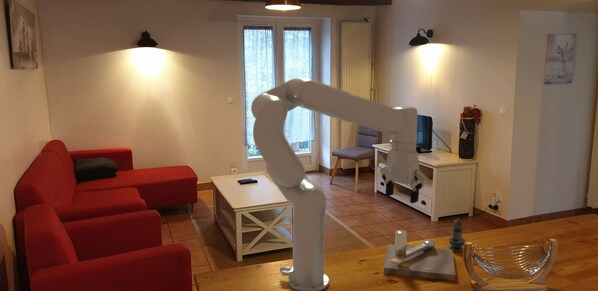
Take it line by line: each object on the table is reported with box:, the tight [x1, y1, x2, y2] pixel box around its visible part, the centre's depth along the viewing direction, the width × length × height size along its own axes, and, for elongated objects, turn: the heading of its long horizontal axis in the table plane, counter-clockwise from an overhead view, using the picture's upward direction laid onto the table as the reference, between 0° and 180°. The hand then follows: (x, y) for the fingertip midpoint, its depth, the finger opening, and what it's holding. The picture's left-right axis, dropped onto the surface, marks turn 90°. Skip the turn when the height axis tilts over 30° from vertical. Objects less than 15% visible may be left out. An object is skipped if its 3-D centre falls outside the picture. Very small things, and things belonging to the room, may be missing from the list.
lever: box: [394, 229, 436, 260], centre depth 159 cm, size 20×4×9 cm, turn 131°
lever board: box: [383, 243, 457, 282], centre depth 159 cm, size 22×20×3 cm
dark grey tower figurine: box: [448, 217, 466, 253], centre depth 170 cm, size 6×6×12 cm
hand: (401, 198), depth 151 cm, fingers open, 9 cm apart
